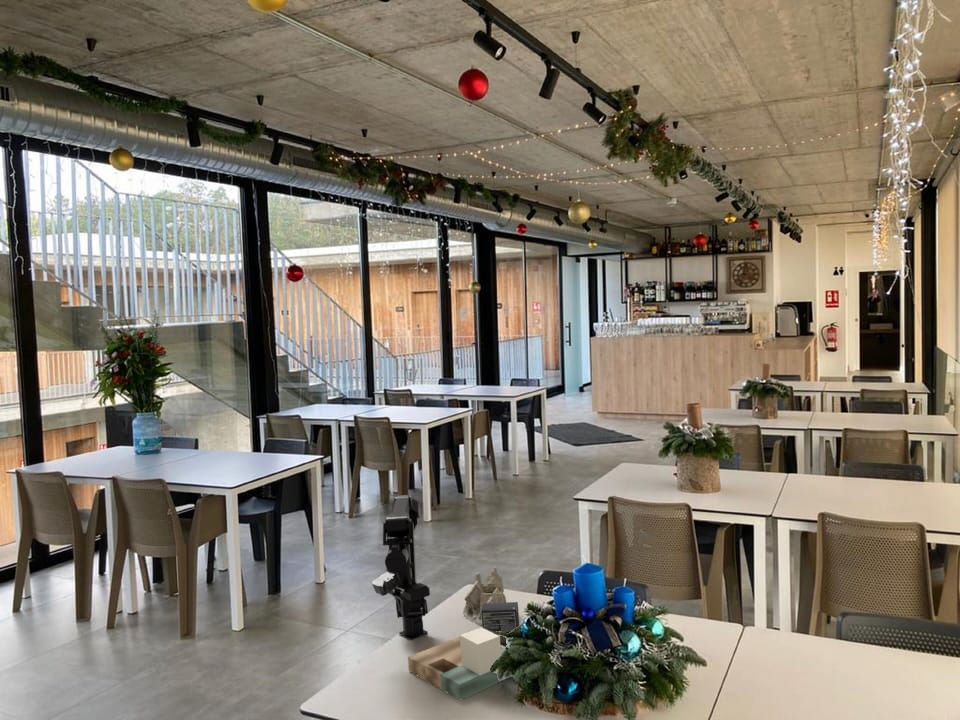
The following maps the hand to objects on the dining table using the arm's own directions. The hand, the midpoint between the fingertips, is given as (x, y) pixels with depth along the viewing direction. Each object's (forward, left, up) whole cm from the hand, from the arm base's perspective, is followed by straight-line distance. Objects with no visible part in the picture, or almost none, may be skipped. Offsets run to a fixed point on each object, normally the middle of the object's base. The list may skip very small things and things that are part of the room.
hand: (404, 616), depth 211 cm
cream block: (+24, +7, -9) cm, 27 cm away
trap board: (+16, +8, -13) cm, 22 cm away
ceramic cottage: (-9, +36, -13) cm, 39 cm away
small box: (+9, +27, -13) cm, 31 cm away
